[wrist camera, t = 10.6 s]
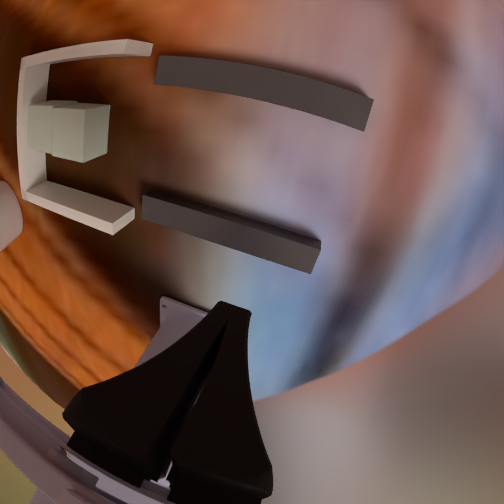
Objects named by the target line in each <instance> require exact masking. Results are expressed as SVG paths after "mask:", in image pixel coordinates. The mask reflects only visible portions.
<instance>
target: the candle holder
mask: <svg viewBox="0 0 504 504" xmlns="http://www.w3.org/2000/svg"><path fill="white" fill-rule="evenodd" d="M22 230H23V217H22V212H21V208H20V205H19V202H18V199H17V197H16V195H15V193H14V191H13V190H12V188H11V187H10V185H9V184H8V183H6V182H5V181H0V252H1V251H2V250H3V249H5V248H6V247H7V246H8V245H9V244H10V243H12V242H13V241H14V240H15V239H16V238H17V237H18V236H20V234H21V233H22Z"/></svg>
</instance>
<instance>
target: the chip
mask: <svg viewBox="0 0 504 504" xmlns="http://www.w3.org/2000/svg"><path fill="white" fill-rule="evenodd" d="M74 103H78V101H61V100H51V101H46V102H41V103H37V104H33V105H28V149H33V150H37V151H42V152H46V153H51V154H52V114H53V108H55V107H60V106H64V105H69V104H74Z"/></svg>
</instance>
